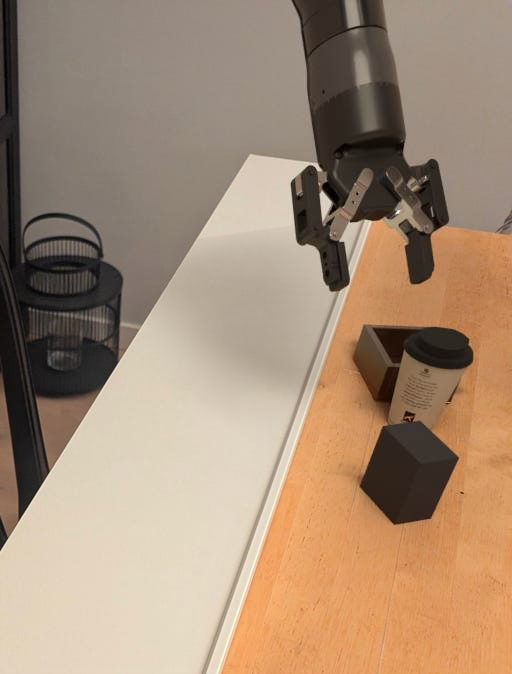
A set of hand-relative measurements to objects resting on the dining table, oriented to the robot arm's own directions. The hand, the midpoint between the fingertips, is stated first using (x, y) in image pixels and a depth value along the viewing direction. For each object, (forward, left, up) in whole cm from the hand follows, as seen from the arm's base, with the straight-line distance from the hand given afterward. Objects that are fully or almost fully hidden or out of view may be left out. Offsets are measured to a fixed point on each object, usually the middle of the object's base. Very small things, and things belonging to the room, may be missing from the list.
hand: (381, 285), depth 82 cm
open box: (-12, -14, -17) cm, 26 cm away
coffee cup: (-10, -5, -18) cm, 21 cm away
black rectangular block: (-3, +11, -17) cm, 21 cm away
